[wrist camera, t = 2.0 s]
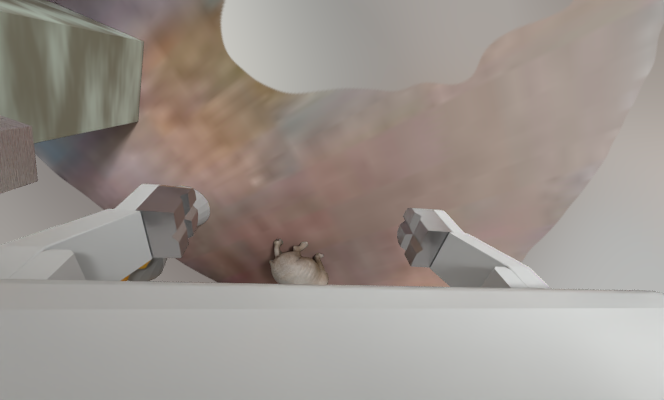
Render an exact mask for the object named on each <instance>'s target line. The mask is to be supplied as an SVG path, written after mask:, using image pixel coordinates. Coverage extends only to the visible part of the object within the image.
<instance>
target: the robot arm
mask: <svg viewBox="0 0 664 400" xmlns="http://www.w3.org/2000/svg"><path fill="white" fill-rule="evenodd" d="M195 201H196V193H195V190H194V189H193V188H184V187H175V186H166V185H157V184H141V185H140V186H139V187H138V188H137V189H136V190H135V191H133V192H132V193H131V194H130V195H129V196H128V197H127V198H126V199H125V200H124V201H123V202H121V203H120V204H119V205H118V206H117V207H116V208H115V209H106V210H103V211H100V212H97V213H94V214H91V215H88V216H85V217H82V218H79V219H76V220H73V221H70V222H67V223H64V224H61V225H58V226H55V227H52V228H49V229H46V230H43V231H40V232H37V233H34V234H32V235H28V236H25V237H22V238H19V239H16V240H14V241H11V242H7V243H4V244H1V245H0V400H664V293H660V292H656V291H645V290H588V289H552V288H550V287H549V286H548V285H547V284H546V283H545V282H544V281H543V280H542V279H541V278H540V277H539V276H538V275H537V274H536V273H535V272H534V271H533V270H532V269H531V268H529V267H528V266H526V265H524V264H522V263H521V262H519V261H517V260H515V259H513V258H512V257H510V256H508V255H506V254H504V253H502V252H501V251H499V250H497V249H495V248H493V247H491V246H490V245H488V244H486V243H484V242H482V241H480V240H479V239H477V238H475V237H473V236H471V235H469V234H466V233H464V232H463V231H462V230H461V229H460V228H459V227H458V226H457V224H456V223H455V222H454V221H453V220H452V219H451V218H450V217H449V216H448V215H447V213H446V212H445V211H443V210H434V209H417V208H408V209H407V210H406V211H405V213H404V216H403V217H404V219H405V221H404V222H403V223H401V224H400V226H399V229H398V233H397V239H398V243H399V245H400V247H402V248H403V249H405V250H406V251H405V256H406V258H407V260H408V262H409V264H410V266H414V267H430V269H431V270H432V271H433V272H435V273H436V274H437V275H438V276H439V277H440V278H441V279H442V280H444V281H445V282H446V283H447V284H448V285H449V286H450V287H423V286H369V285H311V284H257V283H203V282H202V283H201V282H200V283H198V282H149V281H121V280H122V279H124V278H125V277H127V276H128V275H129V274H131V273H132V272H134V271H135V270H137V269H138V268H140V267H141V266H143V265H144V264H146V263H147V262H148V261H150V260H151V259H152V258H182V256H183V254H184V252H185V250H186V248H187V246H188V245H189V242H188V238H190V237H191V236H193V235H194V233H195V231H196V228H197V224H198V210H197V209H196V208H195V207H194V206H193V204H194V203H195Z"/></svg>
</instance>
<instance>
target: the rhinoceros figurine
mask: <svg viewBox="0 0 664 400" xmlns="http://www.w3.org/2000/svg"><path fill="white" fill-rule="evenodd" d="M282 244H283V241H282V240H281V239H279V241H277V239H276V240H275V241H274V245H275V248H274V251H275V259H274V260H270V261H269V263H270V265H271V272H272V275H273V277H274V279H275V280H276V281H277V282H278V283H279V284H311V285H328V280H329V278H328V275H327V273H326V272H325V270H324V267H323V265H322V262H321V260H320V258H322V257H323V256H324V255H323V254H319V253H317V255H315V257H314V258H315V261H314V260H313V259H311V258H308V257H302V256H301V254H300V252H301V251H302V250H303V249H304V248H306V246H308V244H307V242H302V243H301V244H300V245H299V246H293V251H292V252H285V253H281V251H280V245H282Z"/></svg>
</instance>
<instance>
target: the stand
mask: <svg viewBox="0 0 664 400" xmlns="http://www.w3.org/2000/svg"><path fill="white" fill-rule="evenodd" d="M143 47H144V42H143V41H141V40H139V39H136V38H134V37H132V36H129V35H127V34H125V33H122V32H120V31H118V30H115V29H113V28H111V27H108V26H106V25H104V24H101V23H99V22H97V21H94V20H92V19H90V18H87V17H85V16H83V15H80V14H78V13H76V12H74V11H71V10H69V9H67V8H64V7H62V6H60V5H57V4H55V3H53V2H50V1H46V0H0V115H1V116H4V117H7V118H10V119H13V120H16V121H19V122H21V123H24V124H27V125H30V126H32V131H33V141H34V143H37V142H42V141H47V140H52V139H57V138H61V137H66V136H71V135H76V134H81V133H85V132H90V131H95V130H100V129H105V128H109V127H114V126H119V125H124V124H129V123H134V122H138V115H139V101H140V88H141V74H142V60H143Z"/></svg>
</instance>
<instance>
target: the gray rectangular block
mask: <svg viewBox="0 0 664 400" xmlns="http://www.w3.org/2000/svg"><path fill="white" fill-rule="evenodd" d="M37 181H38V179H37V169H36V160H35V150H34V141H33V131H32V126H30V125H27V124H24V123H21V122H19V121H16V120H13V119H10V118H7V117H4V116H1V115H0V194H1V193H4V192H7V191H10V190H13V189H16V188H19V187H22V186H25V185H28V184H31V183H34V182H37Z"/></svg>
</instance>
